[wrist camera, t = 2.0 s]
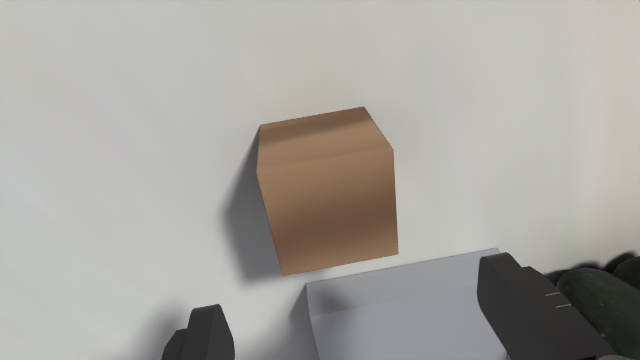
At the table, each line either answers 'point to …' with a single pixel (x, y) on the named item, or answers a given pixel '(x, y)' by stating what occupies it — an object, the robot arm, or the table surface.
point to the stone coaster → (404, 313)
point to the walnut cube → (328, 190)
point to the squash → (608, 303)
